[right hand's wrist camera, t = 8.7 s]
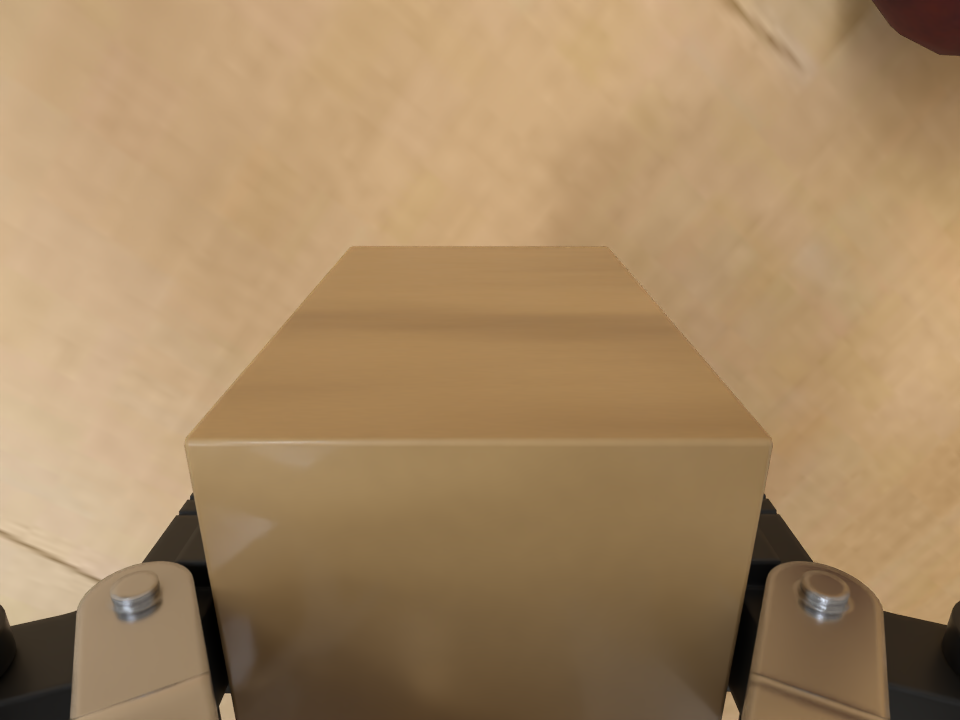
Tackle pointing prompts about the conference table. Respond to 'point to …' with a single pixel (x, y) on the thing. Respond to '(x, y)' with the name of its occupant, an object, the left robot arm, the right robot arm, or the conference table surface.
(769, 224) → the conference table surface
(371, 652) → the box
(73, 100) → the conference table surface
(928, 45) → the potato
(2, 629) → the right robot arm
